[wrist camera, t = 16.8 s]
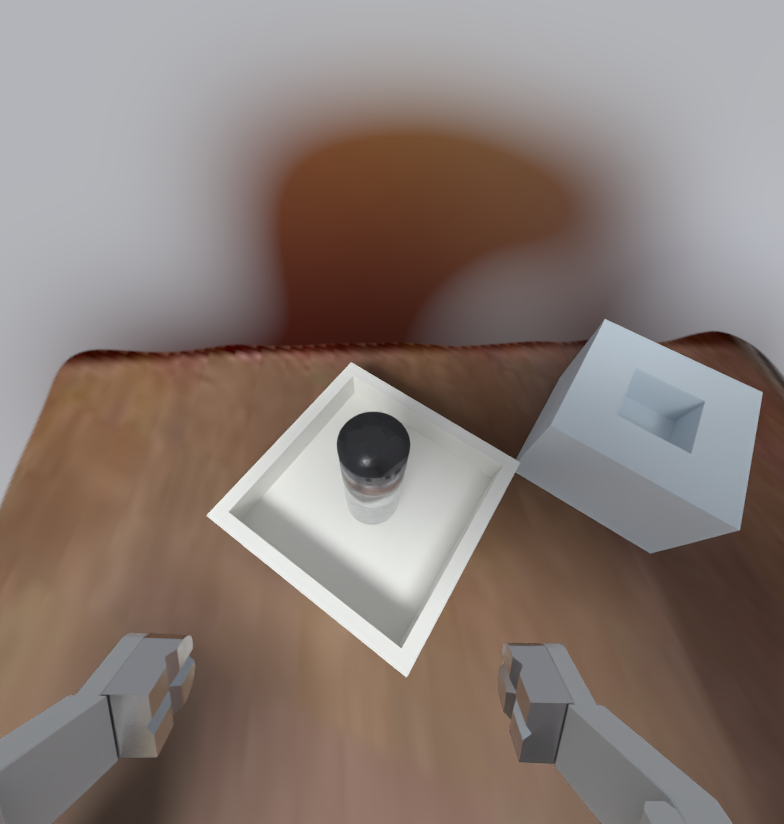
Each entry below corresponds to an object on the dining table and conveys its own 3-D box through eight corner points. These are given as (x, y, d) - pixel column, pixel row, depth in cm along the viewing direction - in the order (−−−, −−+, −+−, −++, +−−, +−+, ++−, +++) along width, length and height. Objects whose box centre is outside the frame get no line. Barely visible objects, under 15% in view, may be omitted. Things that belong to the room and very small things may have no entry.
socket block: (682, 440, 34) (762, 392, 27) (650, 553, 29) (740, 530, 22) (560, 376, 37) (604, 319, 30) (510, 469, 32) (550, 425, 25)
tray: (505, 478, 31) (520, 462, 28) (401, 671, 24) (406, 677, 21) (352, 385, 35) (351, 362, 32) (223, 527, 28) (206, 515, 25)
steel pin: (407, 492, 29) (423, 435, 21) (379, 535, 27) (383, 493, 19) (366, 464, 30) (365, 399, 22) (335, 505, 28) (321, 451, 20)
